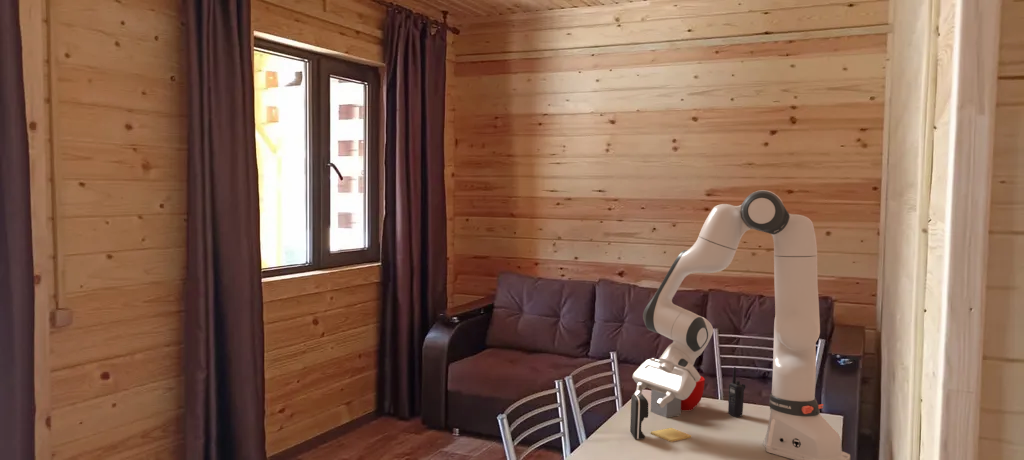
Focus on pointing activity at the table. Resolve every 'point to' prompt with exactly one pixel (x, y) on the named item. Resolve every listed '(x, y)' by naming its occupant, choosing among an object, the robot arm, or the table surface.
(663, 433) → the bay mat
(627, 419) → the table surface
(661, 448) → the table surface
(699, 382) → the ceramic cup
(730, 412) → the two-way radio
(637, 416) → the battery charger
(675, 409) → the gray rectangular box
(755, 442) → the table surface
